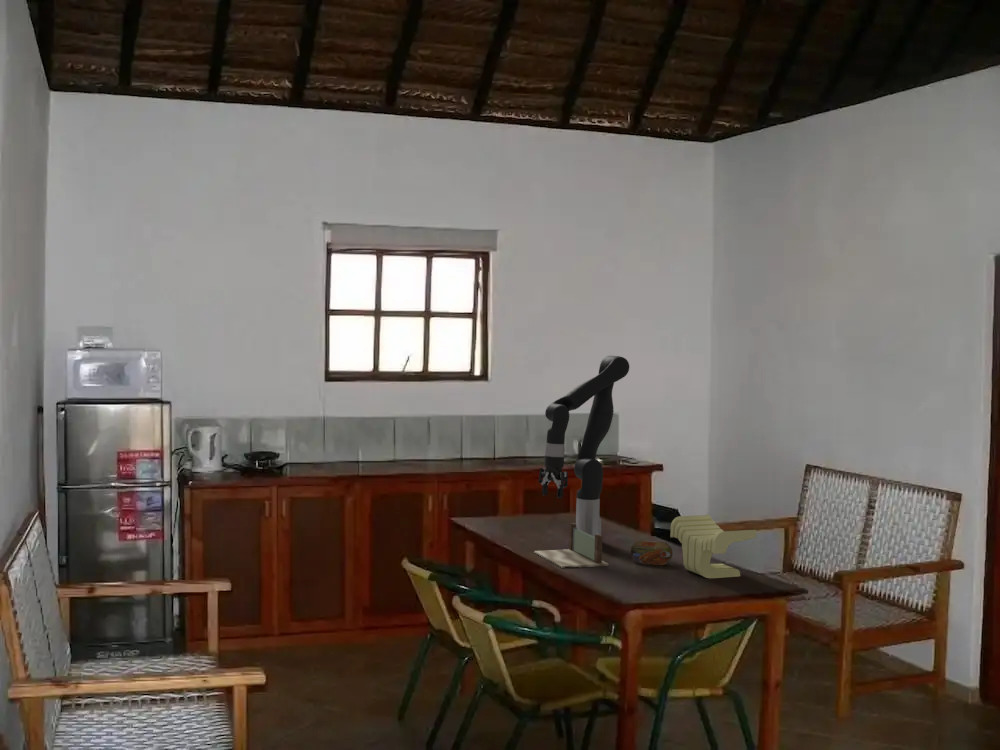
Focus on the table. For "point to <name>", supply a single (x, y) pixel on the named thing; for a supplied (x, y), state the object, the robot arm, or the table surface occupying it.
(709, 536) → the pale yellow c-shaped piece
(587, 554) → the gate
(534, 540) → the table surface
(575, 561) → the gate frame
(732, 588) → the table surface
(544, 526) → the table surface
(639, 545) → the tin
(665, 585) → the table surface
